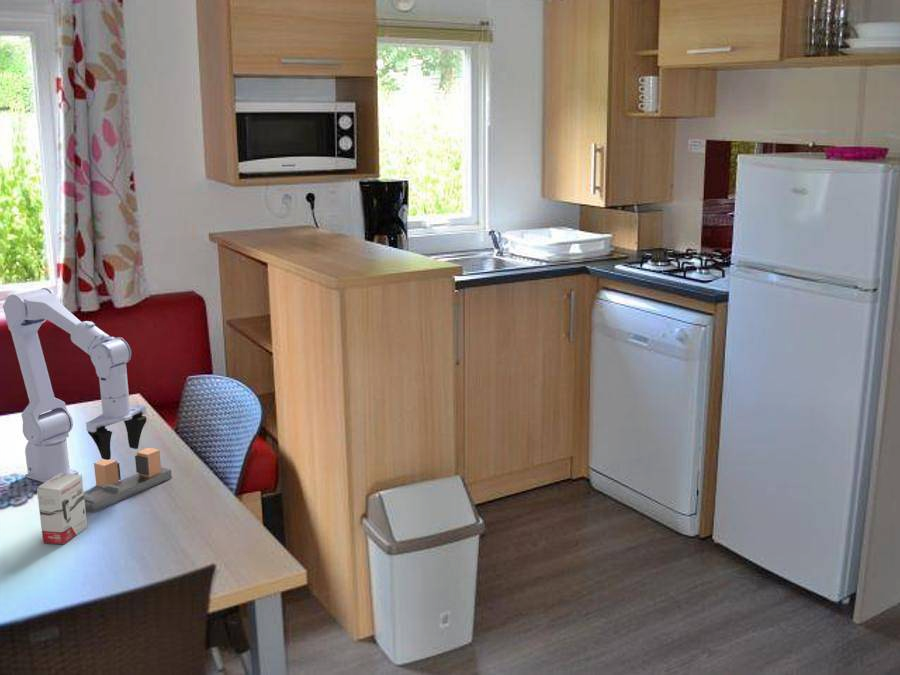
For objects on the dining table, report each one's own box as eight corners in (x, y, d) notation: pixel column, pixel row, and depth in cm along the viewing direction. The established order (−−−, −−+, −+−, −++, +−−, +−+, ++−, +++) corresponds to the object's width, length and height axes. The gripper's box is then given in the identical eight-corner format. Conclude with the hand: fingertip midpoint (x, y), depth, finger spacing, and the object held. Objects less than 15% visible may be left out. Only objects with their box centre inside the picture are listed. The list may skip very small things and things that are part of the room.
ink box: (64, 545, 187) (57, 489, 184) (42, 543, 187) (35, 488, 185) (88, 526, 195) (83, 473, 192) (67, 524, 196) (61, 471, 193)
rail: (78, 507, 204) (76, 494, 203) (156, 473, 222) (155, 461, 222) (93, 512, 201) (92, 499, 201) (171, 477, 220) (170, 465, 219)
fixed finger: (136, 475, 216) (134, 452, 215) (150, 469, 219) (148, 447, 218) (147, 478, 214) (145, 455, 213) (161, 472, 218) (159, 450, 216)
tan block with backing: (96, 485, 216) (93, 463, 215) (110, 479, 219) (108, 457, 218) (106, 488, 214) (104, 465, 213) (121, 482, 217) (118, 460, 216)
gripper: (99, 406, 197) (105, 467, 201) (153, 388, 209) (158, 446, 213) (77, 401, 201) (83, 461, 204) (131, 384, 213) (136, 440, 216)
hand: (120, 453), depth 209 cm, fingers open, 7 cm apart
